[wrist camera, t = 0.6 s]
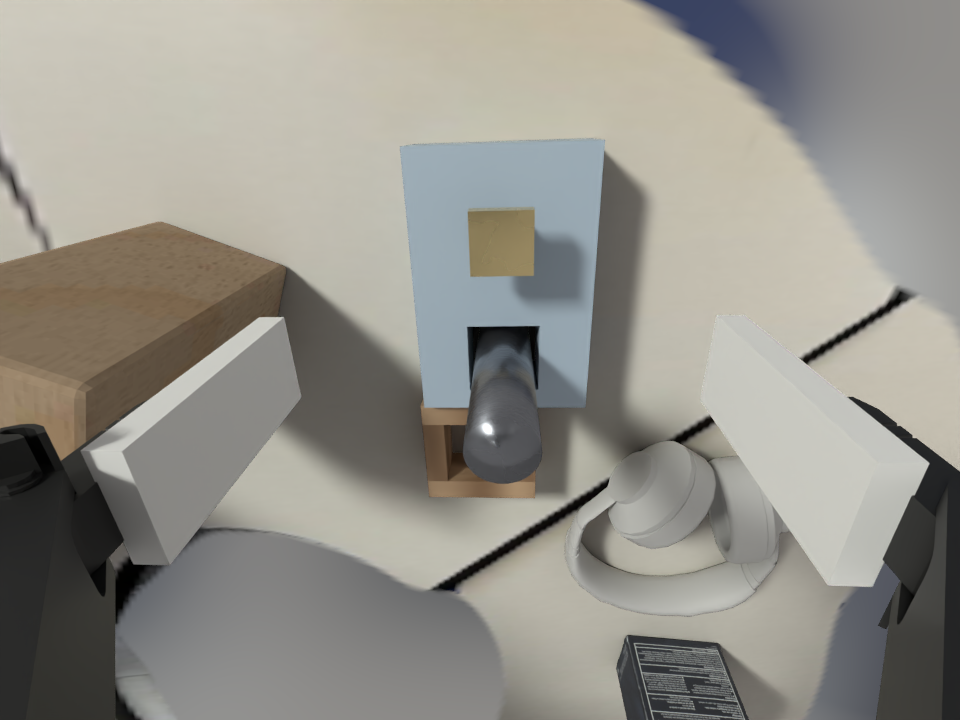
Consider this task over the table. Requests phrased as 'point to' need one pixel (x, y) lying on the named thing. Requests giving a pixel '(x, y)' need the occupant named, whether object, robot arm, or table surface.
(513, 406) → the cylinder
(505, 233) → the small square tan block
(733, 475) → the headphones
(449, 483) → the rack
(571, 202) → the socket block
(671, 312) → the table surface
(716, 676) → the small box
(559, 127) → the table surface
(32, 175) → the table surface
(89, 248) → the wooden block
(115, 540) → the robot arm
